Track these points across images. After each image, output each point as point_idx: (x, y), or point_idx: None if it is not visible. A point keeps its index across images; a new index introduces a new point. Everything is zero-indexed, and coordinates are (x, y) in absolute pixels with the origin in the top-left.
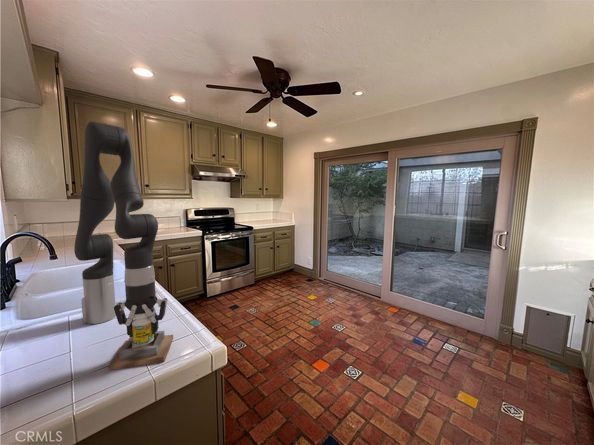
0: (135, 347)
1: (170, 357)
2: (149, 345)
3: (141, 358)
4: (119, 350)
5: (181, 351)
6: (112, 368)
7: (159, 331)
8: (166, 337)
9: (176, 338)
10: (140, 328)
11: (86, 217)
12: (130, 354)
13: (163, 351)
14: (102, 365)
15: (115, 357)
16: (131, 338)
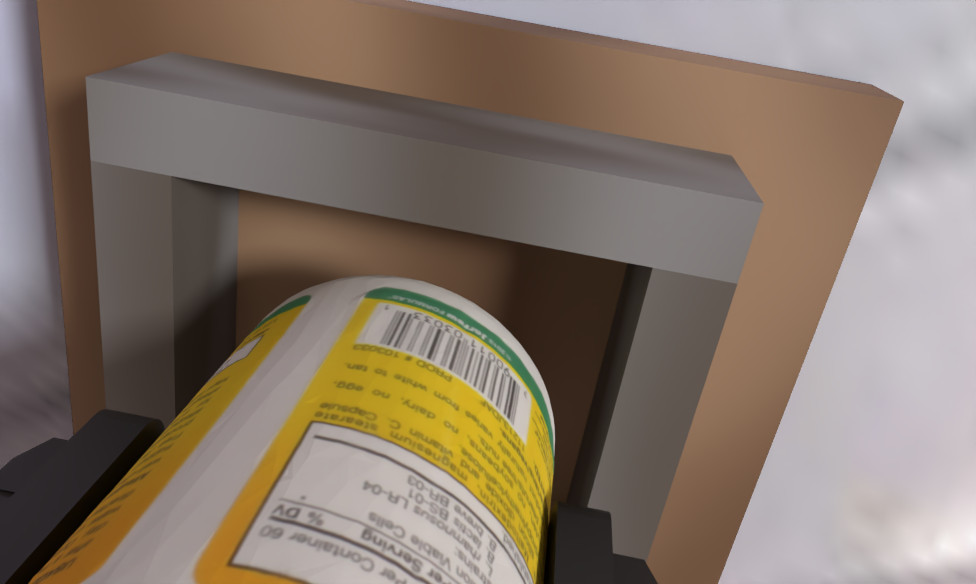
0: (282, 269)
1: (759, 549)
2: (485, 306)
3: None
4: (71, 254)
5: (914, 495)
6: None
7: (656, 207)
8: (764, 167)
9: (926, 98)
10: None
11: None
12: None
13: (689, 544)
14: (4, 359)
15: (94, 406)
16: (142, 255)
